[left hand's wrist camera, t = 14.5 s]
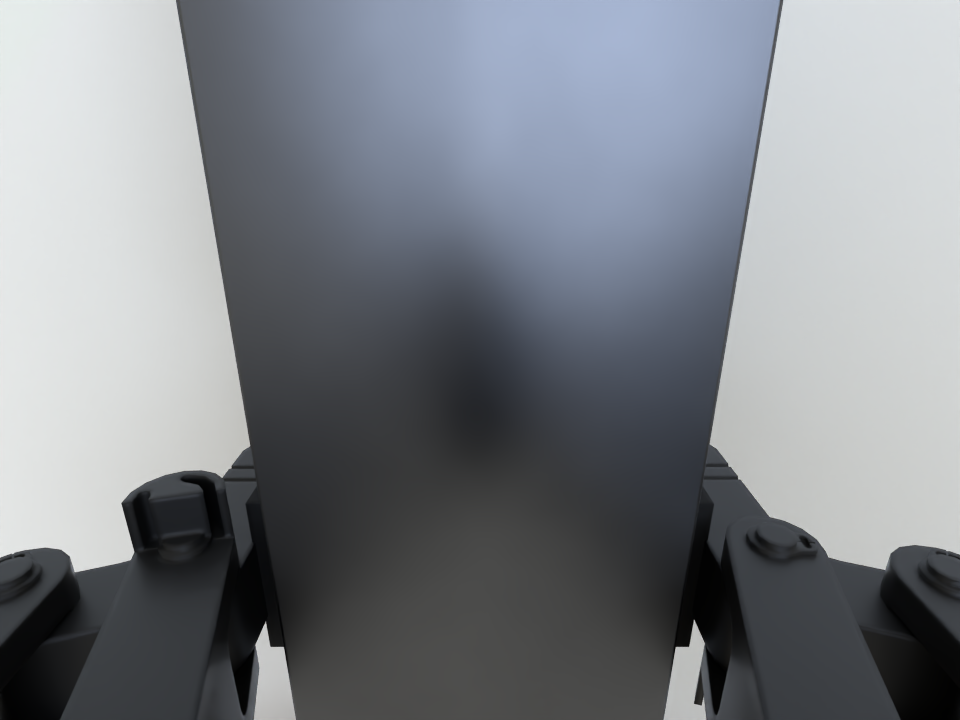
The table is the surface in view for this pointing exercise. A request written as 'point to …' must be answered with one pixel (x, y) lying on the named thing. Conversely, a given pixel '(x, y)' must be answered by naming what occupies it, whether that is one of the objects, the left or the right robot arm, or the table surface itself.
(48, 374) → the table surface
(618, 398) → the bar
